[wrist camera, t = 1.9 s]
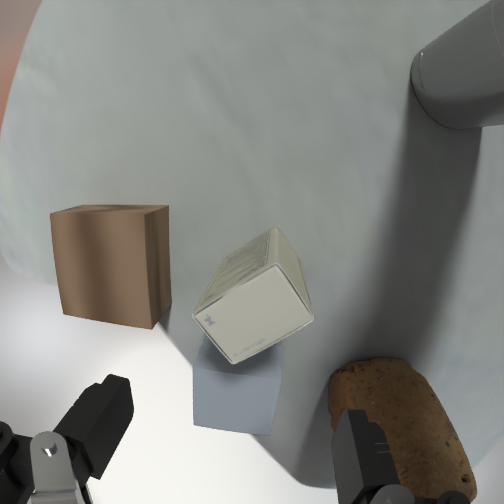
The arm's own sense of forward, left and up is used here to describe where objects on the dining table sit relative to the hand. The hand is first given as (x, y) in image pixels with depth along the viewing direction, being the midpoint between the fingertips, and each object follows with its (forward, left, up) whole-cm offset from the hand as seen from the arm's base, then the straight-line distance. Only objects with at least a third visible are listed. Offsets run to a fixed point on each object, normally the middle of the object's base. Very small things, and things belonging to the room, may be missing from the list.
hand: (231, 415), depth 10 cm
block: (-14, +13, -20) cm, 28 cm away
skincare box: (0, 0, -20) cm, 20 cm away
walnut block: (+14, +1, -20) cm, 25 cm away
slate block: (+1, +13, -20) cm, 24 cm away
